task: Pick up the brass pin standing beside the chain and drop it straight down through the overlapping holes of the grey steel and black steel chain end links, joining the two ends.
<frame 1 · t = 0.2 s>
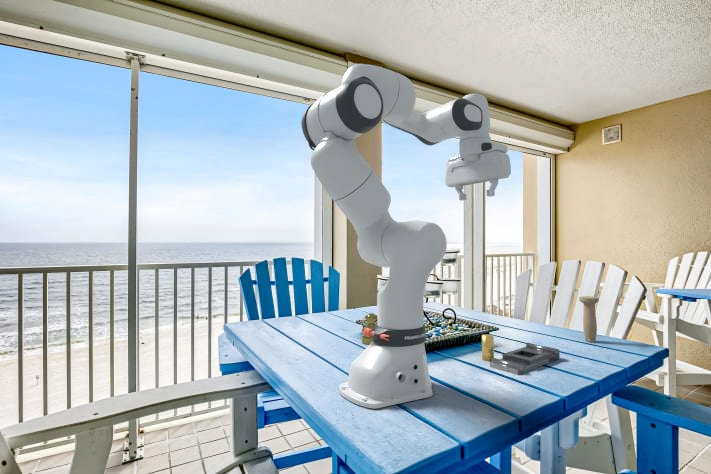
hand: (476, 198, 106), 47 cm above the table, fingers open, 8 cm apart
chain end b: (525, 362, 102), on the table
olive green upright figure: (371, 342, 127), on the table
handle: (590, 342, 123), on the table
chain end a: (525, 362, 102), on the table
brass pin: (488, 359, 105), on the table
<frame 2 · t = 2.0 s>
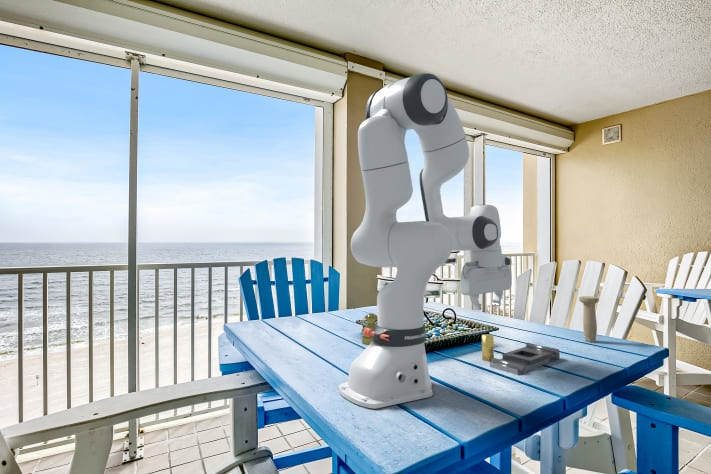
hand: (487, 307, 106), 15 cm above the table, fingers open, 8 cm apart
nothing on the table moved.
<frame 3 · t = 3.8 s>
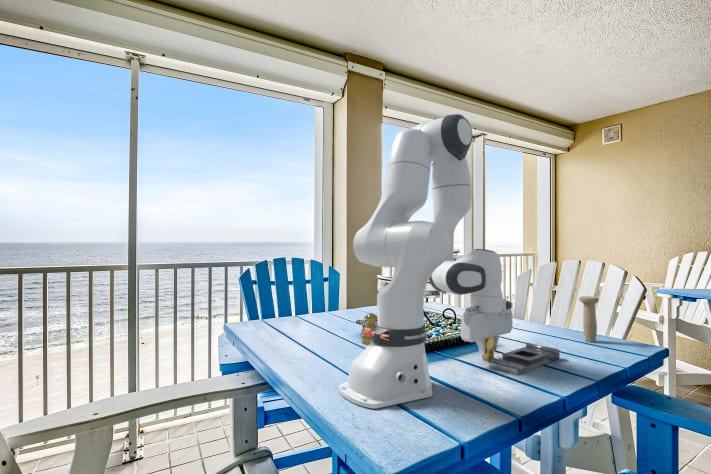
hand: (487, 352, 105), 2 cm above the table, fingers closed on brass pin, 3 cm apart
brass pin: (488, 359, 105), on the table, touching gripper
everything else where it was.
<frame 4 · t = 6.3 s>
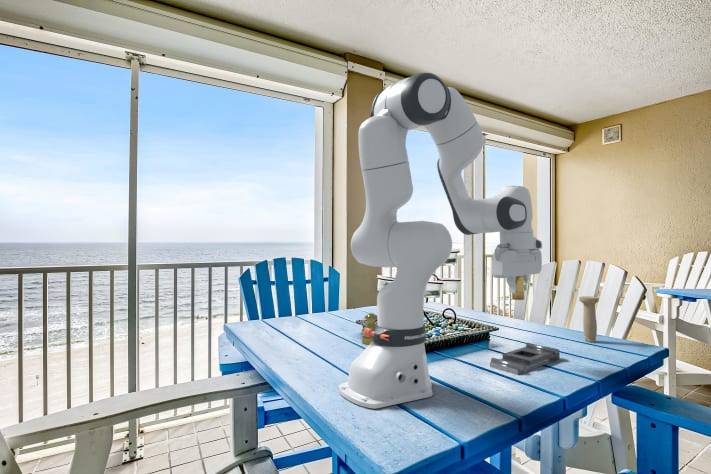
hand: (518, 291, 103), 20 cm above the table, fingers closed on brass pin, 3 cm apart
brass pin: (518, 299, 103), point 18 cm above the table, touching gripper
everything else where it was.
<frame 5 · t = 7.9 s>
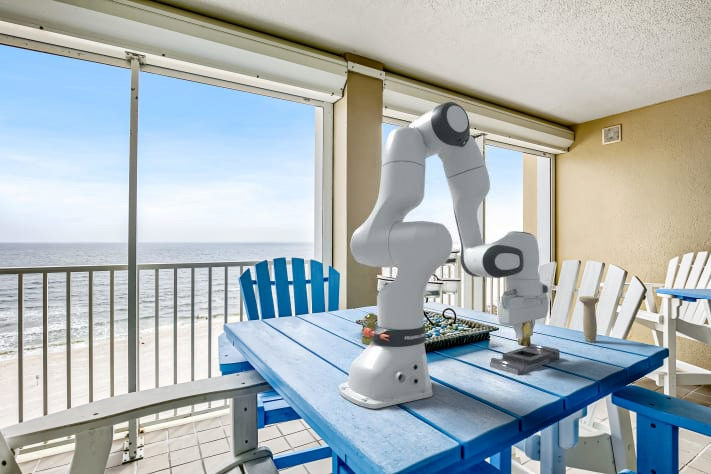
hand: (524, 337, 102), 7 cm above the table, fingers closed on brass pin, 3 cm apart
brass pin: (524, 344, 102), point 5 cm above the table, touching gripper
everything else where it was.
when the fingers open (3 cm above the table, at t = 9.0 s): brass pin drops 1 cm, resting in chain end a.
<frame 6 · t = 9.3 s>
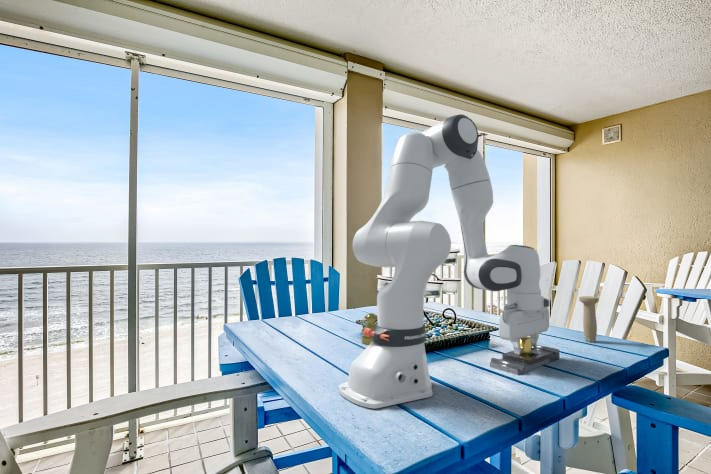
hand: (525, 351, 102), 3 cm above the table, fingers open, 6 cm apart
brass pin: (525, 362, 102), resting in chain end a
everything else where it was.
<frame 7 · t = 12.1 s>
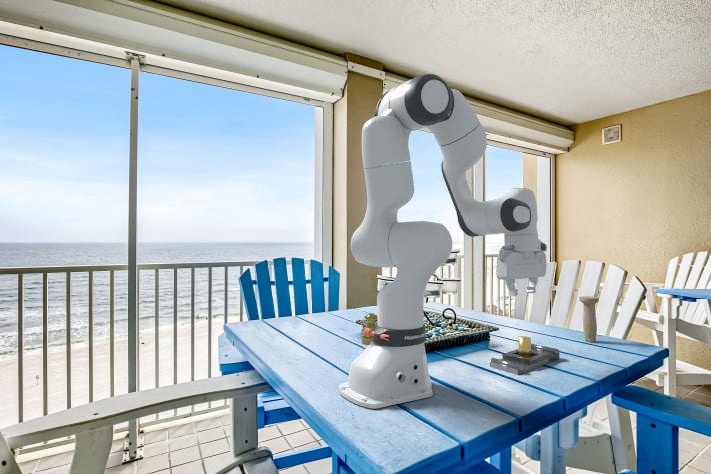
hand: (522, 294, 102), 19 cm above the table, fingers open, 8 cm apart
nothing on the table moved.
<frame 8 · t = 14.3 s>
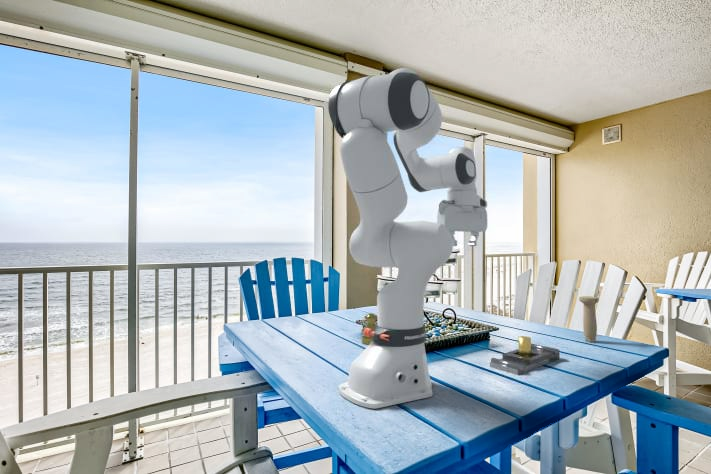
hand: (463, 246, 111), 33 cm above the table, fingers open, 8 cm apart
nothing on the table moved.
at the end: brass pin 0.1 cm off-centre on the chain end a, point 0.0 cm above the chain end a's base; brass pin tilted 0°; the gripper is holding nothing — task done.
